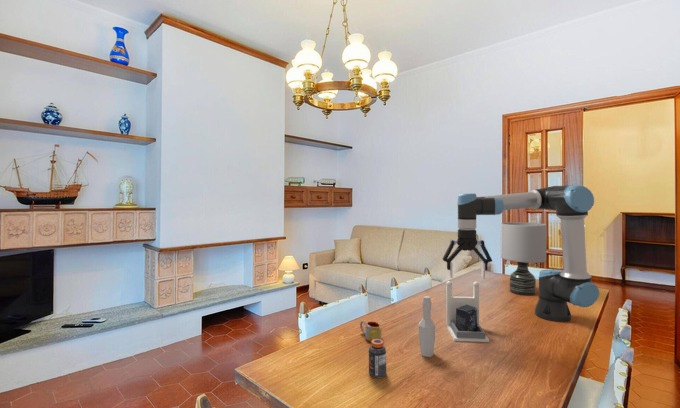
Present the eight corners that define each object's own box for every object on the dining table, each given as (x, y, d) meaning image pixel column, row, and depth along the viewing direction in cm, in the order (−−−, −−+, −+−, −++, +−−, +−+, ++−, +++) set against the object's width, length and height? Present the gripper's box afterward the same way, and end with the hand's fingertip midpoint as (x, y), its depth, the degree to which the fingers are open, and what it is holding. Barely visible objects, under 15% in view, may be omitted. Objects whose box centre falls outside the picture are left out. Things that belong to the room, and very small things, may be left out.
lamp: (554, 298, 189) (555, 225, 188) (513, 298, 190) (513, 225, 188) (531, 286, 213) (531, 222, 212) (494, 286, 214) (494, 222, 212)
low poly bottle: (432, 359, 120) (432, 300, 120) (416, 355, 124) (415, 298, 123) (437, 352, 126) (437, 296, 125) (421, 348, 129) (421, 293, 128)
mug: (385, 340, 137) (385, 324, 137) (372, 344, 133) (372, 328, 133) (367, 330, 147) (367, 316, 147) (355, 334, 143) (355, 319, 143)
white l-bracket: (478, 326, 150) (478, 280, 149) (489, 342, 134) (490, 290, 134) (445, 325, 151) (445, 280, 151) (453, 340, 136) (453, 290, 135)
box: (466, 336, 138) (467, 311, 137) (455, 331, 142) (455, 307, 142) (477, 331, 142) (477, 307, 142) (466, 327, 147) (466, 304, 147)
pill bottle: (367, 369, 114) (367, 337, 114) (384, 368, 115) (384, 336, 114) (370, 379, 108) (370, 345, 108) (388, 378, 109) (387, 344, 108)
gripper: (493, 228, 144) (493, 275, 144) (435, 228, 146) (435, 274, 147) (500, 229, 136) (500, 280, 137) (439, 229, 139) (439, 279, 139)
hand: (466, 277), depth 142 cm, fingers open, 13 cm apart
